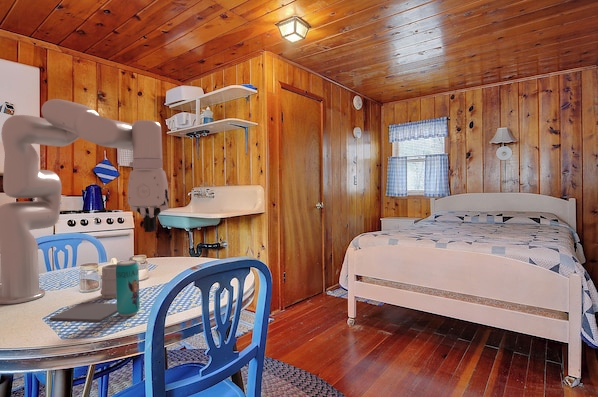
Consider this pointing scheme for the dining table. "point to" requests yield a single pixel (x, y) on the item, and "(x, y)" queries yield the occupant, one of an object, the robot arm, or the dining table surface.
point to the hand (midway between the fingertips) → (150, 231)
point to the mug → (109, 281)
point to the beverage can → (127, 287)
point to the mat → (87, 312)
